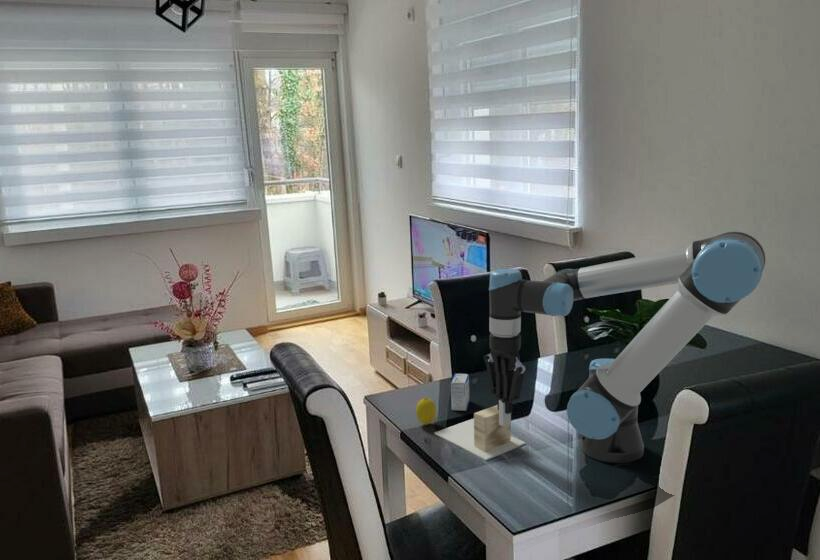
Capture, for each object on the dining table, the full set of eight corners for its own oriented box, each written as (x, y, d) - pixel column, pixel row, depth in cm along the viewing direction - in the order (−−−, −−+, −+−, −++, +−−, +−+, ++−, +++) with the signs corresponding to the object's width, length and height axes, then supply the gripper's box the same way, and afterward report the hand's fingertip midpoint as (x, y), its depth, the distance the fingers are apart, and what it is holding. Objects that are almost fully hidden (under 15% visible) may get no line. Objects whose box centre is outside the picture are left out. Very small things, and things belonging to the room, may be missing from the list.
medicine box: (466, 411, 192) (465, 383, 190) (451, 410, 193) (450, 382, 191) (469, 400, 200) (469, 373, 198) (454, 400, 200) (454, 373, 199)
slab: (485, 451, 166) (484, 418, 164) (474, 446, 169) (473, 413, 167) (510, 441, 171) (510, 408, 169) (499, 436, 174) (499, 404, 172)
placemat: (525, 444, 170) (525, 442, 170) (485, 460, 162) (485, 459, 162) (473, 419, 186) (473, 418, 186) (434, 433, 178) (434, 432, 178)
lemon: (413, 422, 185) (412, 395, 184) (431, 419, 187) (431, 392, 186) (420, 430, 180) (419, 402, 179) (439, 426, 182) (438, 399, 181)
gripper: (536, 335, 157) (534, 428, 162) (497, 324, 167) (497, 411, 172) (513, 342, 153) (513, 437, 158) (475, 330, 163) (475, 419, 168)
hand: (504, 423), depth 165 cm, fingers closed
